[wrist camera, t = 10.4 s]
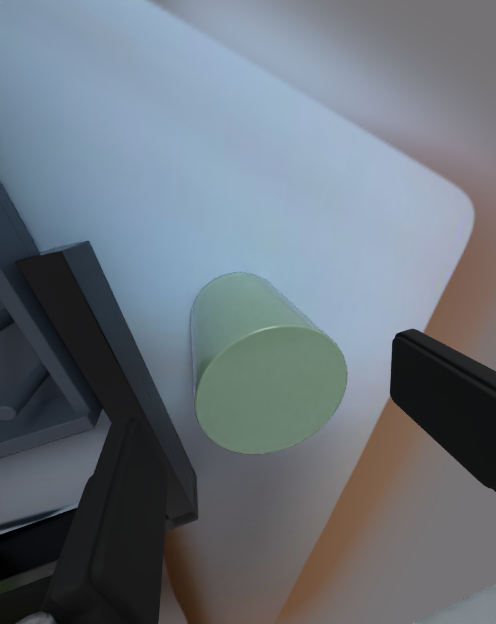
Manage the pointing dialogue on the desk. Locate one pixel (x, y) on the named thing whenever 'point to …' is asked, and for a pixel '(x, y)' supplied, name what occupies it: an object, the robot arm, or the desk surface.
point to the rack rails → (107, 388)
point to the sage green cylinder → (260, 367)
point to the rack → (34, 356)
